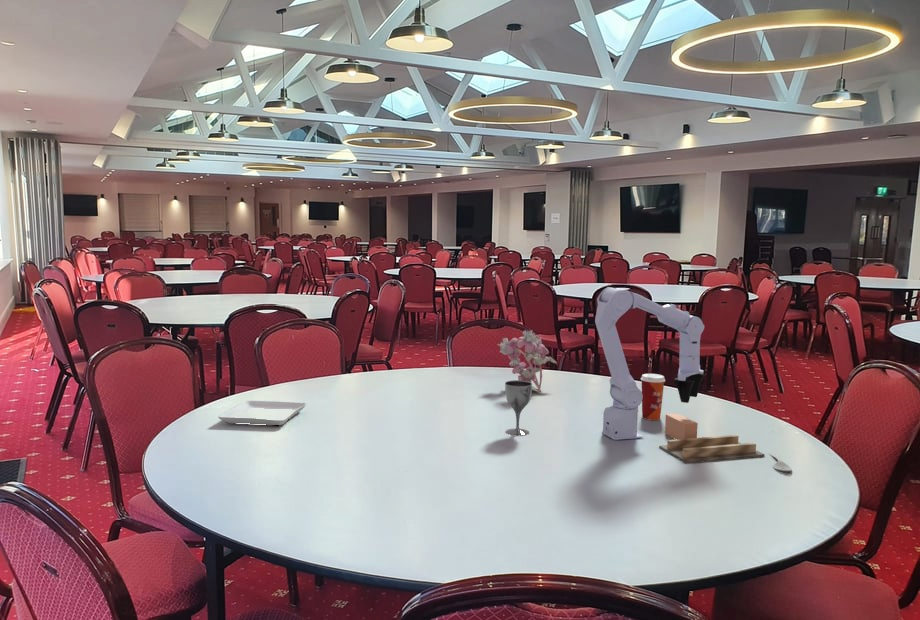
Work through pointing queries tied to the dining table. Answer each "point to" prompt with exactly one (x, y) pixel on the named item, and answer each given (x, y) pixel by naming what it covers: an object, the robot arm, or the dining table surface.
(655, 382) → the paper cup
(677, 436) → the block
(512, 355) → the flower
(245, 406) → the salad plate
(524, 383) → the wine glass
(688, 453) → the wooden stand
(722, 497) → the dining table surface
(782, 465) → the spoon
